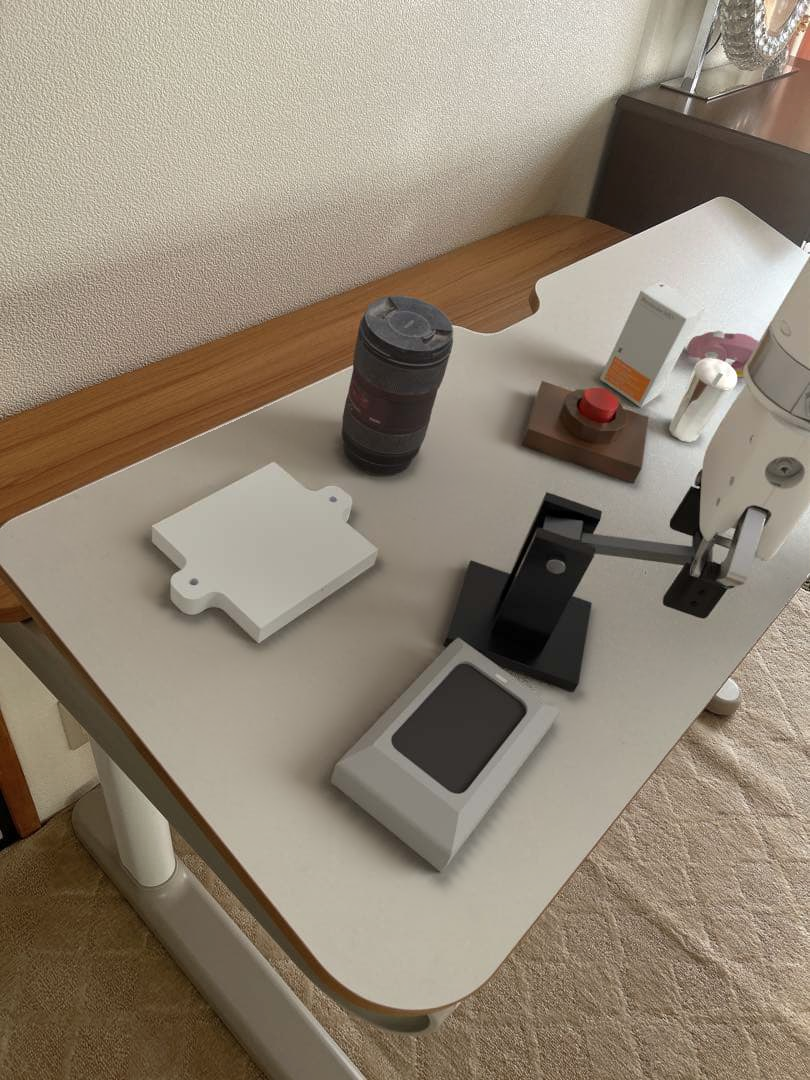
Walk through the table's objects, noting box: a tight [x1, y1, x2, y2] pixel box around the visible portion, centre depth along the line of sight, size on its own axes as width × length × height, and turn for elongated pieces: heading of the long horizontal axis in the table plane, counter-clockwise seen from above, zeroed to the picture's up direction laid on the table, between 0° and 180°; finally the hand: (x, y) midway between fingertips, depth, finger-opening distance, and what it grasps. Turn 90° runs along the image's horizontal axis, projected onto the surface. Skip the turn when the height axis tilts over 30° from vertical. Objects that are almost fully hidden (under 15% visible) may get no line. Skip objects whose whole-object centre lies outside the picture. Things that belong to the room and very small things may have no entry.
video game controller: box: [686, 330, 760, 379], centre depth 106 cm, size 10×5×7 cm, turn 81°
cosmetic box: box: [599, 280, 705, 408], centre depth 97 cm, size 6×4×12 cm
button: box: [579, 386, 619, 423], centre depth 90 cm, size 4×4×2 cm
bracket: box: [442, 491, 603, 693], centre depth 69 cm, size 11×9×13 cm
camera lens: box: [341, 295, 454, 477], centre depth 79 cm, size 8×8×15 cm
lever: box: [543, 516, 714, 566], centre depth 65 cm, size 12×5×2 cm, turn 74°
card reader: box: [329, 638, 560, 874], centre depth 63 cm, size 10×4×15 cm
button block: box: [521, 380, 649, 484], centre depth 92 cm, size 12×9×4 cm
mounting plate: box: [151, 461, 379, 644], centre depth 73 cm, size 18×13×2 cm
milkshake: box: [668, 358, 738, 443], centre depth 94 cm, size 4×5×10 cm
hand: (686, 568), depth 64 cm, fingers open, 7 cm apart
